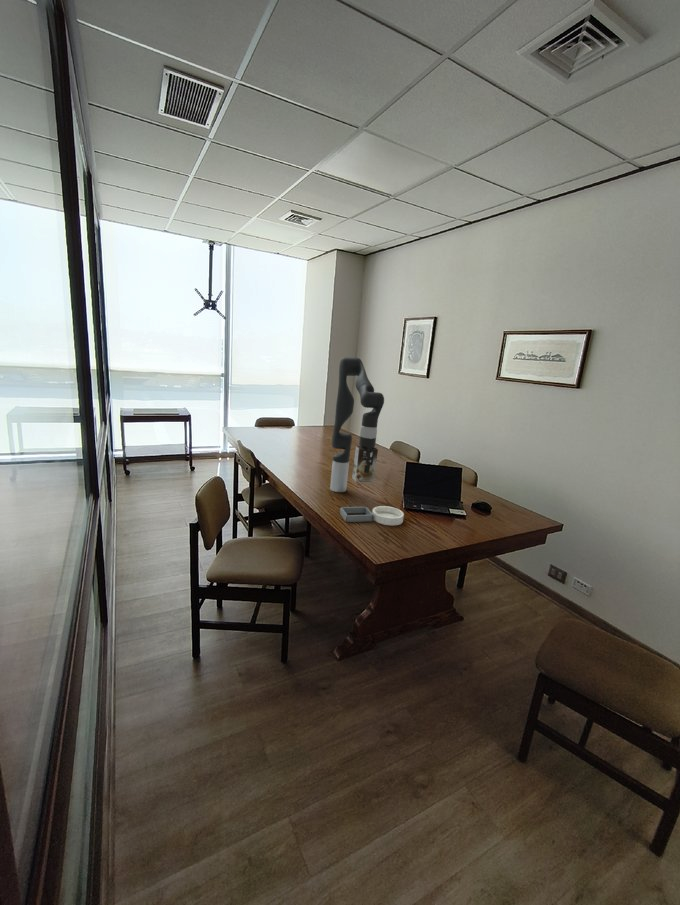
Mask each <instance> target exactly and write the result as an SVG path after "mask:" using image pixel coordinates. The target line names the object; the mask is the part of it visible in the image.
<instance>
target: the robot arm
mask: <svg viewBox="0 0 680 905" xmlns="http://www.w3.org/2000/svg"><path fill="white" fill-rule="evenodd" d="M338 368H339V369H338V388H337V389H338V390H337V398H336V404H335V413H334V414H335V415H334V416H335V417H334V426H333V430H332V431H333V432H332V437H331V447H332V448H333V449H335V450H343V451H340V452H339V453H335V454H334V455H333V456H332V464H331V474H330V486H329V489H330V491H332V492H335V493H344V492H346V491H347V485H348V475H349V467H350V466H349V465H350V456H351V448H352V440H353V435H352V434H351V433H349V432H340V431H341V429H342V426H343V425H344V424H345V423H346V422H347V421H348V420H349V418H351V416H352V414H353V412H354V406H355V399H354V396H353V394H352V392H351V390H350V389H349V386H348V383H347V380H348V379H347V377H355V376H356V377H357V378H356V380H355V387H356V388H355V389H356V391H357V392H358V393H359V397H360V398H359V399H360V404H361V406H362V407H363V408H365V409H366V408H367V409H369V408H370V409H372V410H371V411H368V412H365V413H363V415H362V417H361V418H362V419H361V427H360V433H359V442H358V446H362V447H365V448H366V449H367V451H366V455H367V456H368V457H367V458H366V457H364V460H365V469H364V472H365V473H369V470H370V465H372V464H373V457H374V453H372V451H371V448H372V447H375V448H376V444H377V435H378V434H377V433H378V421H379V420H378V419H379V417H380V414H381V411H382V409H383V407H384V403H385V396H384V394H383V393H381V392H378V391H377V392H375V388H374V386H373V384H372V383H371V382H370V381H371V380H369V378H368V375H367V372H366V369H365V366H364V364H363V362H362V360H361V358H359V357H358V356H357V357H356V356H355V357H353V356H352V357H351V356H344V357H343V356H342V357H341V358H340V361H339V367H338Z"/></svg>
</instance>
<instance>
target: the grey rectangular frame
mask: <svg viewBox="0 0 680 905" xmlns="http://www.w3.org/2000/svg"><path fill="white" fill-rule="evenodd" d="M339 508H340V509H339V514H340V516H341V517H342V518H343V520H344V521H345V523H353V522H354V523H356V522H357V523H358V522H362V523H363V522H374V520H373V518H374V515H373V514H372V510H370V509H369V507H367V506H340V507H339ZM350 514H351V515H350Z"/></svg>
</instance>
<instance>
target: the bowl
mask: <svg viewBox="0 0 680 905" xmlns="http://www.w3.org/2000/svg"><path fill="white" fill-rule="evenodd" d="M371 513H372V514H373V515H374V518H373V522H376V523H378V524H381V525H385V526H399V525H401V524H403V522H404V517H405V513H404V511H402V510H400V509H399V508H396V507H393V506H388V505H387V506H386V505H379V506H378V505H377V506H375V507H373V508H372V510H371Z"/></svg>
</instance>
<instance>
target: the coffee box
mask: <svg viewBox="0 0 680 905" xmlns="http://www.w3.org/2000/svg"><path fill="white" fill-rule="evenodd" d="M366 451H367V449H366V448H365V447H362V446H360V445H355V452H354V460H353V469H352V476H351V478H352V480H353V481H354V482H356V483H374V481H375V476H376V466H377V459H378V452H379V449H378V448H377V447H376V446H375V447H372V448H371V451H372V453H374V457H373V464H372V465H370V470H369V473H365V472H364V469H365V460H364V457H366V458H367V457H368V456H367V455H366Z"/></svg>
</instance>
